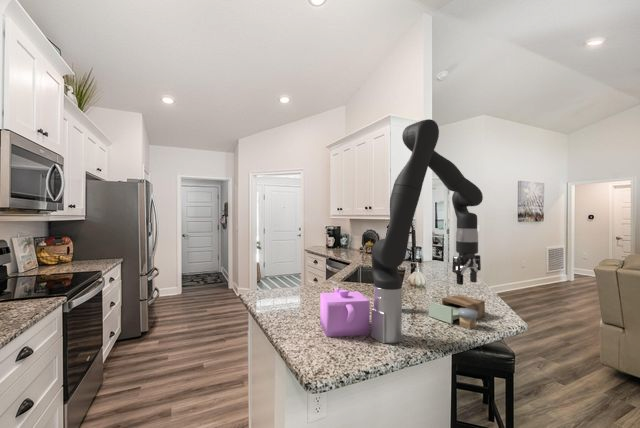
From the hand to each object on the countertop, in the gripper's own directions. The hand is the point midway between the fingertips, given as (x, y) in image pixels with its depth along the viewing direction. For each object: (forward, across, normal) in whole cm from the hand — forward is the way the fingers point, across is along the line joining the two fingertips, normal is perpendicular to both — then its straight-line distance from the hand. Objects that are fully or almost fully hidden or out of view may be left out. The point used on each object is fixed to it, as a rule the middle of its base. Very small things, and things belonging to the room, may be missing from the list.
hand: (466, 283), depth 109 cm
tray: (+16, +2, +9) cm, 18 cm away
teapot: (+16, -42, +22) cm, 50 cm away
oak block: (+16, 0, 0) cm, 16 cm away
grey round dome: (+12, 0, 0) cm, 12 cm away
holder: (+16, +12, +9) cm, 22 cm away
